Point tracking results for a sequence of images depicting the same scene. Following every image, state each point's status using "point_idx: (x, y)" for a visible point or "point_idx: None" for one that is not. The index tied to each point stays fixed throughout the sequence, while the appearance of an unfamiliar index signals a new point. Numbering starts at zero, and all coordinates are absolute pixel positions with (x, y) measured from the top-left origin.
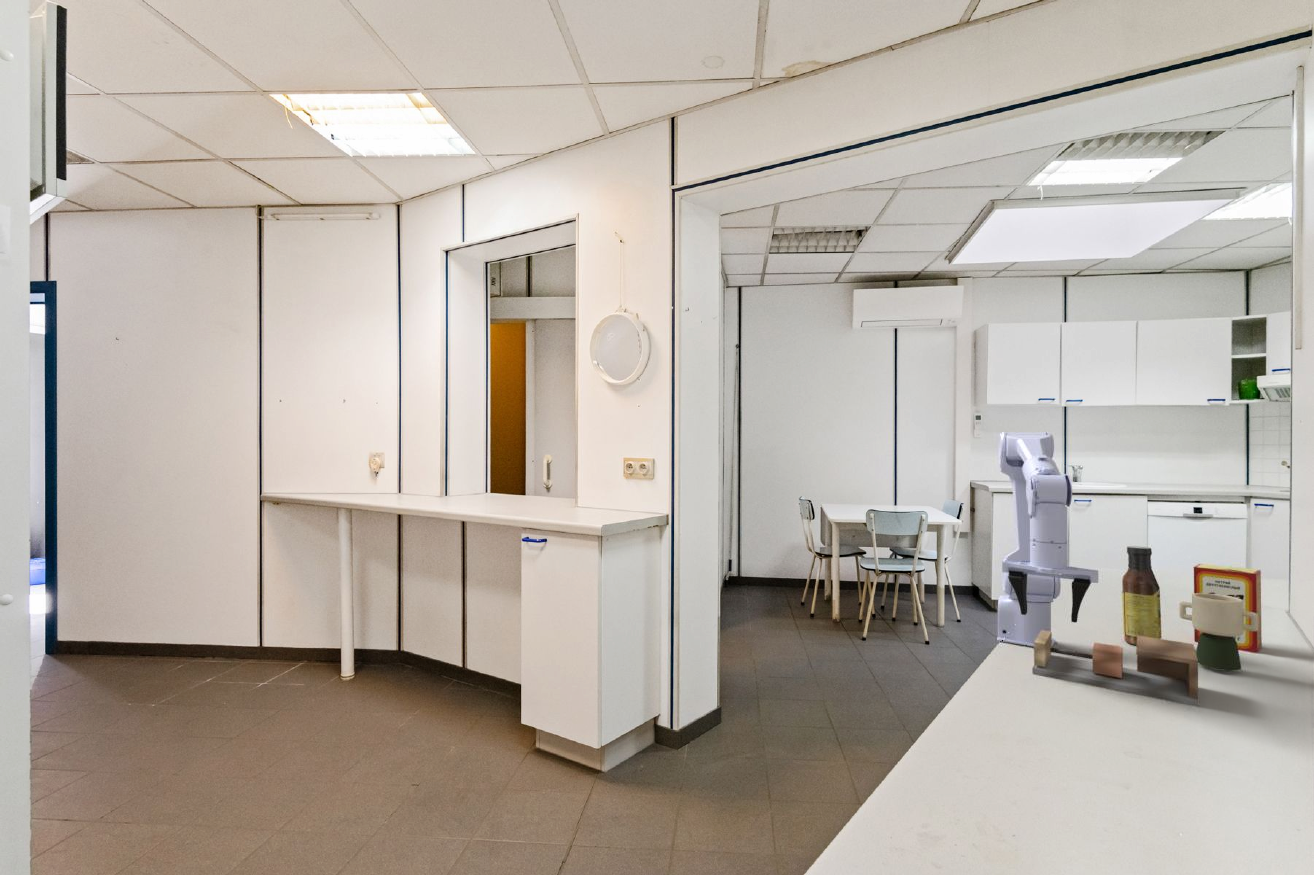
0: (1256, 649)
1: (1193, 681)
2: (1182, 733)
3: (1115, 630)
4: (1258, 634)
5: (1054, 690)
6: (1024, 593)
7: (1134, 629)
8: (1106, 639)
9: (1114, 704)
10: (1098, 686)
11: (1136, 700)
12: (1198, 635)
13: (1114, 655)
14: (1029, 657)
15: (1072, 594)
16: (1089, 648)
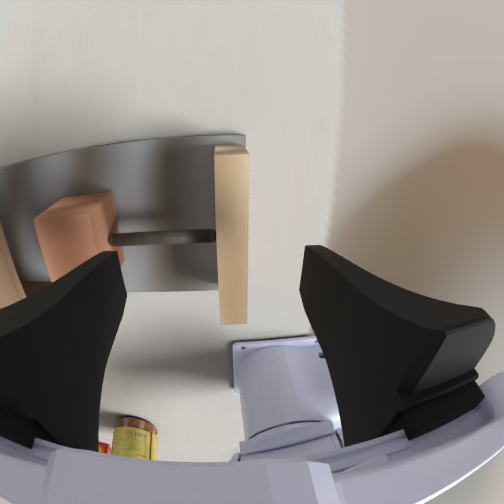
0: None
1: None
2: (5, 14)
3: (180, 450)
4: None
5: (183, 38)
6: (345, 323)
7: (136, 437)
8: (176, 425)
9: (72, 50)
10: (102, 145)
11: (42, 115)
12: (103, 450)
13: (49, 215)
14: (265, 271)
15: (39, 312)
16: (181, 386)
